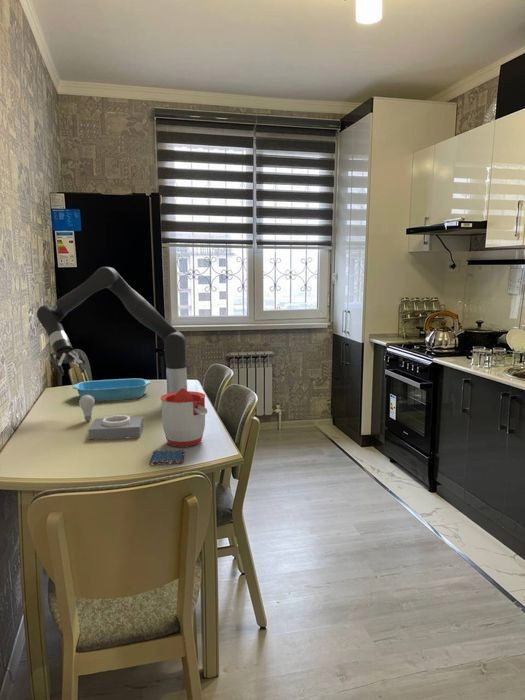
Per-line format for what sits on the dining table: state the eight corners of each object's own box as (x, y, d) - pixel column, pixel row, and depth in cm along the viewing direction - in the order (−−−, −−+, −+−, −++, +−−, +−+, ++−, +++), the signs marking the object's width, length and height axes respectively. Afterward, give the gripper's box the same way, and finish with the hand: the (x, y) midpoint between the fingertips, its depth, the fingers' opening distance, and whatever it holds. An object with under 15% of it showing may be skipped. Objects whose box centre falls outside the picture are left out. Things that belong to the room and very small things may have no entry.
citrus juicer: (191, 453, 164) (189, 395, 161) (153, 444, 174) (150, 389, 171) (219, 440, 178) (218, 386, 175) (182, 432, 187) (180, 381, 184)
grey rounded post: (81, 424, 199) (79, 397, 197) (79, 420, 204) (77, 394, 202) (97, 422, 201) (95, 395, 200) (94, 418, 207) (93, 392, 205)
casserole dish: (148, 389, 261) (147, 376, 260) (153, 399, 240) (152, 384, 239) (74, 395, 249) (73, 381, 248) (72, 405, 228) (71, 390, 227)
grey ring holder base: (143, 426, 195) (142, 412, 195) (139, 437, 182) (139, 422, 181) (96, 428, 193) (95, 414, 192) (89, 440, 179) (88, 425, 178)
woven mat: (183, 466, 155) (183, 460, 155) (149, 467, 154) (148, 461, 154) (185, 454, 166) (185, 448, 165) (153, 455, 165) (153, 449, 164)
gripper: (45, 339, 208) (58, 370, 201) (78, 336, 217) (91, 365, 211) (42, 350, 212) (54, 380, 206) (74, 347, 222) (87, 376, 215)
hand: (73, 373), depth 208 cm, fingers open, 8 cm apart
